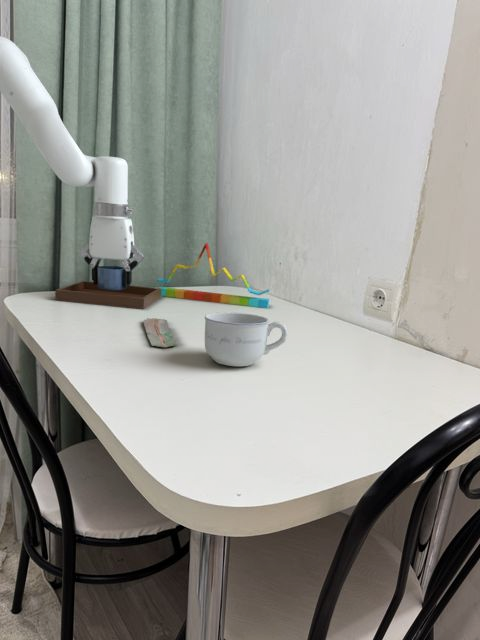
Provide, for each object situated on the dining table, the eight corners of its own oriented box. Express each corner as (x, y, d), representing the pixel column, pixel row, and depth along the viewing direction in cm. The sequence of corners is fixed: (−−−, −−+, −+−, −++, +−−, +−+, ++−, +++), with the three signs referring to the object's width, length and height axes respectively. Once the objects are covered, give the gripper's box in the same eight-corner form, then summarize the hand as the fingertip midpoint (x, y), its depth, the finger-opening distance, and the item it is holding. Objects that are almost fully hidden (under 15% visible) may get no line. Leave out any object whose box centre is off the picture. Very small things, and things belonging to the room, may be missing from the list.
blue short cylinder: (93, 288, 123) (92, 268, 122) (103, 284, 130) (103, 264, 128) (120, 291, 123) (120, 270, 122) (129, 286, 130) (129, 267, 128)
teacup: (193, 365, 82) (195, 318, 80) (214, 349, 93) (217, 306, 90) (276, 379, 80) (281, 330, 77) (288, 360, 90) (293, 316, 88)
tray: (55, 300, 120) (55, 289, 120) (82, 289, 135) (82, 280, 134) (143, 309, 119) (143, 298, 119) (161, 297, 134) (161, 288, 133)
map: (151, 351, 89) (151, 346, 89) (142, 318, 108) (142, 314, 107) (180, 351, 91) (180, 346, 90) (166, 319, 109) (166, 315, 109)
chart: (268, 305, 136) (273, 249, 132) (267, 307, 133) (272, 250, 129) (160, 293, 140) (162, 238, 136) (156, 295, 137) (158, 239, 132)
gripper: (151, 214, 124) (150, 286, 129) (82, 208, 125) (84, 280, 130) (142, 214, 117) (141, 290, 122) (69, 208, 118) (71, 284, 123)
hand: (111, 284), depth 126 cm, fingers closed on blue short cylinder, 6 cm apart
